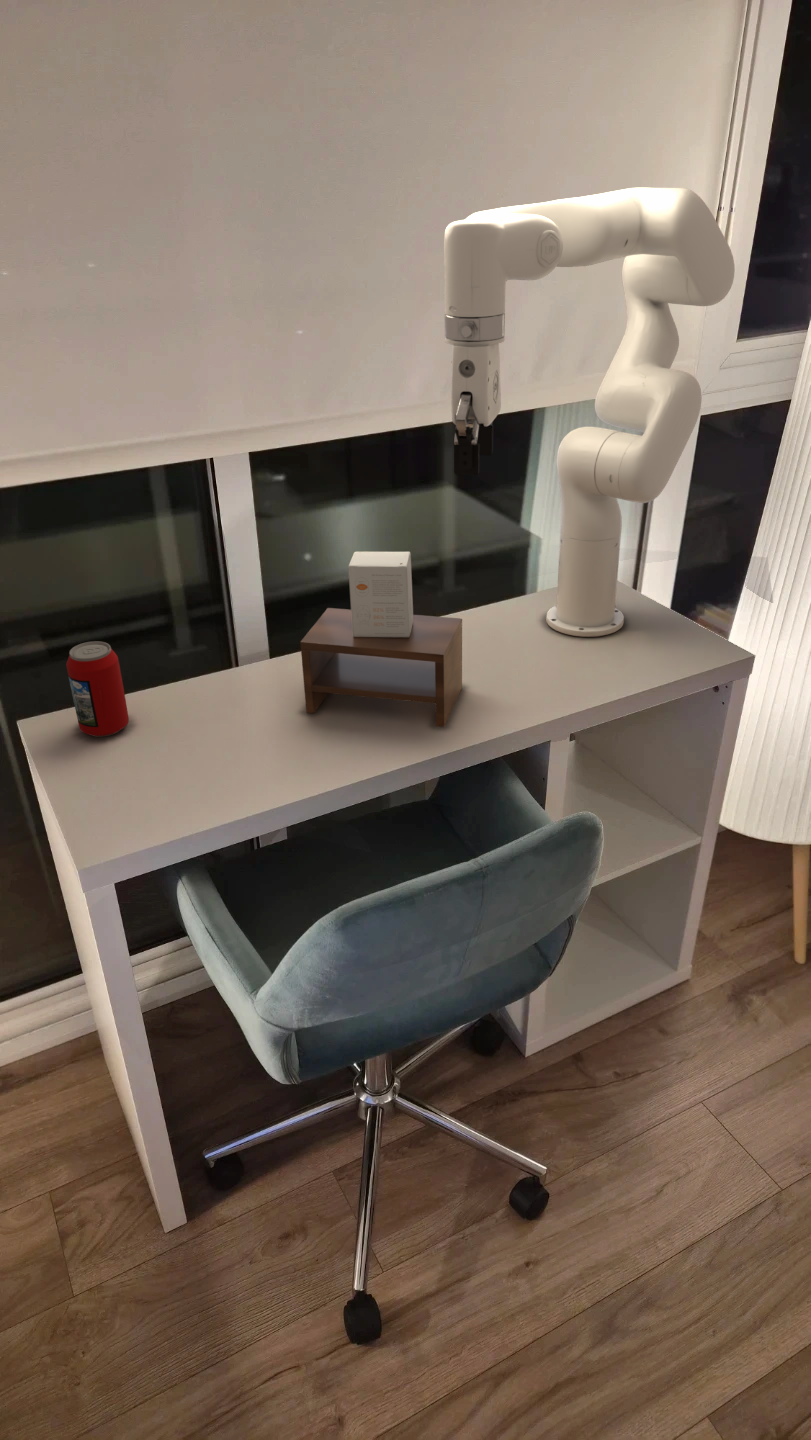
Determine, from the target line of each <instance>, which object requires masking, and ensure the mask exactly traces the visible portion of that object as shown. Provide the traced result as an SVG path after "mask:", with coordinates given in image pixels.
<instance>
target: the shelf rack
mask: <svg viewBox="0 0 811 1440" xmlns="http://www.w3.org/2000/svg"><path fill="white" fill-rule="evenodd" d="M300 651H301V653H300V654H301V665H302V676H303V679H302V680H303V689H304V691H303V692H304V702H305V712H306V713H308V714H315V713H316V711H318V708H319V707H320V706H321V704H322V703H323V701H324V699H325V698H326V697H327V695H328V694H336V695H344V696H345V695H346V696H353V697H354V696H355V697H356V696H357V697H363V698H364V697H365V698H374V699H375V698H376V699H386V700H395V701H404V702H405V701H406V702H413V703H415V702H416V703H425V704H434V705H435V727H440V728H445V726H446V725H447V721H448V719H449V717H450V714H451V713H452V711H453V708H454V706H455V705H456V702H457V699H458V697H459V695H460V693H461V691H462V689H463V618H458V617H447V616H446V617H445V616H435V615H434V616H433V615H422V614H413V624H412V628H411V633H410V637H353V629H352V615H351V609H346V608H334V607H327V608H326V610H324V612H323V613H322V614H321V616H320V617H319V618H318V619H317V620H316V622H315V623H314V625H313V626H312V627H310V629H309V630H308V631H307V633H306V635H304V637H303V638H302V639H301V640H300Z"/></svg>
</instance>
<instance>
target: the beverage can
mask: <svg viewBox="0 0 811 1440" xmlns="http://www.w3.org/2000/svg"><path fill="white" fill-rule="evenodd" d="M68 654H69V655H68V659H67V661H66V665H65V666H66V670H67V675H68V680H69V681H68V682H69V686H70V689H71V690H70V691H71V695H72V699H73V700H72V701H73V703H74V709H75V714H76V718H77V723H78V728H79V730H80V731H81V733H84V734H85V735H90V736H93V737H97V738H98V737H99V738H100V737H101V738H102V737H108V736H112V735H115V734H117V733H119V732H120V731H121V730H123V729H124V728H126V726H127V725H128V723H129V720H130V719H129V711H128V705H127V701H126V694H125V689H124V683H123V677H122V673H121V667H120V661H119V657H118V655H117V654H116V652H115V650H113V649H112V647H111V645H110V644H109V643H108V642H105V641H98V640H97V641H96V640H94V641H87V642H83V643H80V644H77V645H75V646H73V647H72V648H71V649H70V650H69V653H68Z"/></svg>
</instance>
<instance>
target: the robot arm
mask: <svg viewBox="0 0 811 1440" xmlns="http://www.w3.org/2000/svg"><path fill="white" fill-rule="evenodd" d="M622 258H624V259H623V263H622V269H621V283H622V288H623V295H624V301H625V308H626V309H625V310H626V327H625V330H624V334H623V336H622V339H621V341H620V344H619V346H618V348H617V350H616V352H615V354H614V356H613V358H612V360H611V362H610V365H609V367H608V369H607V371H606V373H605V375H604V377H603V379H602V381H601V383H600V385H599V388H598V390H597V393H596V396H595V400H594V411H595V414H596V416H597V418H598V419H599V420H600V421H601V422H603V423H604V424H606V425H608V426H611V427H612V426H613V427H614V428H619V429H622V430H627V431H634V432H639V433H643V434H642V435H640V434H634V433H629V432H624V431H622V430H615V429H610V428H604V427H599V426H581V427H577V428H575V429H572V430H571V431H569V432H568V433H567V434H566V435H565V436H564V437H563V438H562V440H561V442H560V444H559V446H558V449H557V453H556V471H557V477H558V478H557V479H558V484H559V491H560V528H559V548H558V549H559V550H558V569H557V588H556V604H555V605H554V606H552V607H550V609H548V610H547V611H546V615H545V616H546V617H545V621H546V624H547V625H548V626H549V627H550V628H551V629H553V630H554V631H557V632H559V633H561V634H565V635H567V636H568V635H569V636H575V637H581V638H593V637H603V636H608V635H610V634H613V633H615V632H617V631H620V629H622V628H623V626H624V621H625V616H624V614H623V613H622V611H621V610H620V609H618V608H616V603H617V602H616V601H617V591H618V577H619V565H620V553H621V552H620V551H621V539H622V528H623V516H622V512H621V511H622V510H621V507H620V504H619V501H618V499H619V500H624V501H628V502H632V503H639V504H647V503H650V502H652V501H654V500H655V499H657V498H658V497H659V496H660V495H661V493H662V492H664V489H665V488H666V487H667V485H668V483H669V481H670V479H671V477H672V475H673V472H674V471H675V469H676V466H677V465H678V462H679V460H680V458H681V457H682V454H683V452H684V450H685V448H686V446H687V444H688V442H689V439H690V438H691V435H692V433H693V431H694V430H695V427H696V424H697V422H698V419H699V417H700V416H699V415H700V412H701V407H702V389H701V385H700V383H699V381H698V380H697V378H696V377H695V376H694V375H692V374H691V373H689V372H686V371H684V370H680V369H673V368H672V366H673V363H674V361H675V359H676V356H677V354H678V351H679V348H680V347H679V346H680V338H679V332H678V328H677V326H676V325H677V324H676V323H675V321H674V317H673V315H672V312H671V309H670V306H669V304H670V305H671V304H672V305H683V306H694V307H695V306H696V307H709V306H714V305H717V304H719V303H720V302H722V300H724V299H725V298H726V297H727V296H728V294H729V292H730V291H731V289H732V286H733V284H734V279H735V270H736V269H735V260H734V259H735V258H734V256H733V252H732V250H731V247H730V245H729V243H728V241H727V239H726V237H725V236H724V234H723V232H722V230H721V228H720V226H719V224H718V222H717V220H716V218H715V216H714V214H713V213H712V211H711V210H710V208H709V207H708V205H707V203H706V202H705V201H704V200H703V199H702V197H701V196H699V195H698V194H697V193H696V191H693V190H691V189H689V188H685V187H629V188H624V189H618V190H613V191H607V192H602V193H597V194H596V193H595V194H591V195H584V196H583V195H582V196H579V197H578V196H577V197H567V198H561V199H555V200H550V201H544V202H537V203H529V204H522V205H521V204H520V205H512V206H505V207H498V208H492V209H487V210H481V211H477V212H473V213H472V214H470V215H468V216H467V217H466V218H465V219H460V220H455V221H452V222H450V223H449V224H448V225H447V226H446V228H445V230H444V235H443V266H444V267H443V268H444V269H443V270H444V271H443V272H444V273H443V274H444V277H443V278H444V280H443V281H444V283H443V284H444V343H446V344H448V345H451V346H452V348H451V349H452V350H451V377H450V378H451V379H450V381H451V382H450V389H451V390H450V398H451V399H450V407H451V409H450V411H451V422H452V423H453V424H454V425H455V429H454V438H453V439H454V440H453V473H454V475H456V476H473V477H474V476H475V477H476V476H478V475H479V473H480V456H491V455H492V454H493V453H494V424H493V422H494V420H495V419H496V418H497V416H498V415H499V414H500V411H501V408H502V402H501V401H502V396H501V358H500V344H502V343H504V342H505V338H506V337H505V331H506V330H505V326H506V324H505V323H506V313H505V312H506V283H507V281H512V280H513V281H515V280H516V281H527V282H528V281H529V282H530V281H536V280H540V279H543V278H544V277H547V276H548V275H549V274H551V273H552V272H553V271H554V270H555V269H556V268H573V267H575V268H576V267H577V268H578V267H588V266H593V265H597V264H601V263H604V262H608V261H609V262H610V261H613V260H617V259H622Z"/></svg>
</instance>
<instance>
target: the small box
mask: <svg viewBox="0 0 811 1440" xmlns="http://www.w3.org/2000/svg"><path fill="white" fill-rule="evenodd" d="M347 569H348V583H349V599H350V600H349V601H350V610H351V615H352V629H353V637H410V633H411V628H412V624H413V615H414V604H413V603H414V602H413V601H414V600H413V579H412V577H413V576H412V555H411V552H410V551H354V552H353V554H352V557H351V559H350V562H349V563H348V566H347Z"/></svg>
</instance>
